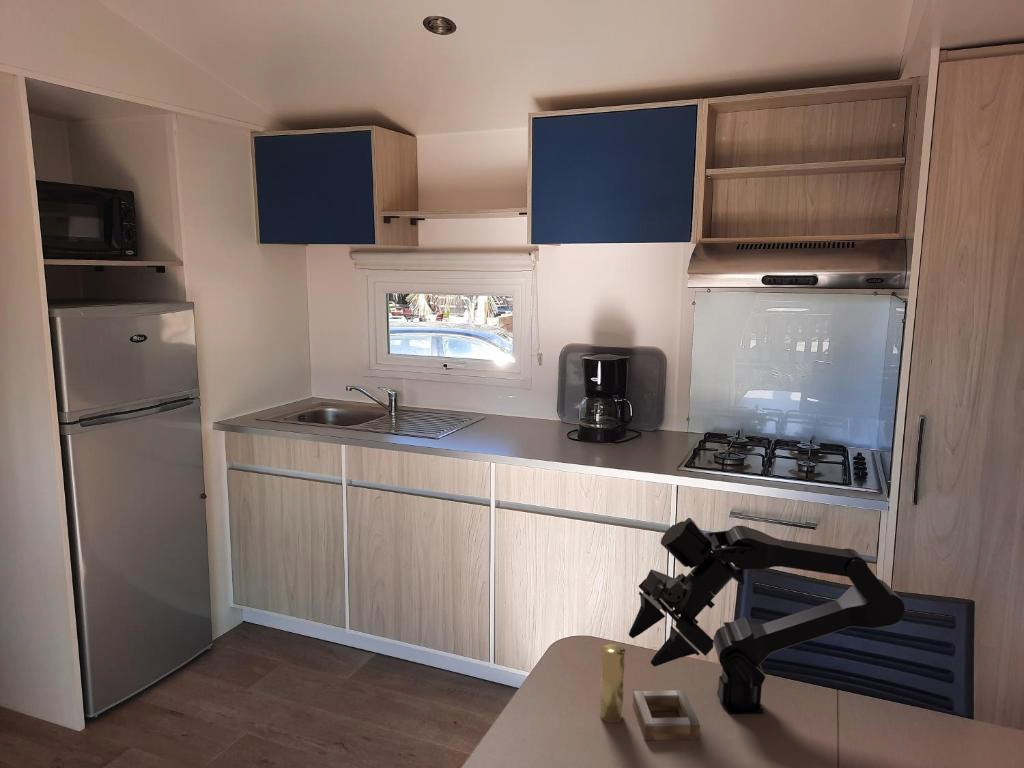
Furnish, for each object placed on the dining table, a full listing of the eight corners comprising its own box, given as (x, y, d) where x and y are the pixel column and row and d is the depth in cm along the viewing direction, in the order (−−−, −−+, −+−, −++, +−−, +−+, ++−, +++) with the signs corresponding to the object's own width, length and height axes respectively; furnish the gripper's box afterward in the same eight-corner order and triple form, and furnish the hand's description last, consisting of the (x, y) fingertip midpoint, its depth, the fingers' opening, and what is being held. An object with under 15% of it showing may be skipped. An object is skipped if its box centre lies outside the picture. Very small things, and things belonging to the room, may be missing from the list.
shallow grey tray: (683, 705, 130) (684, 689, 130) (699, 739, 121) (700, 722, 121) (632, 706, 130) (633, 690, 129) (644, 740, 121) (645, 724, 120)
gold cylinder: (620, 708, 129) (622, 643, 127) (624, 722, 125) (627, 656, 123) (597, 708, 129) (600, 644, 127) (601, 723, 125) (604, 656, 123)
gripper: (650, 536, 134) (592, 598, 133) (700, 580, 116) (633, 652, 115) (687, 572, 137) (630, 633, 136) (741, 620, 119) (676, 691, 118)
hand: (640, 650), depth 126 cm, fingers open, 9 cm apart
